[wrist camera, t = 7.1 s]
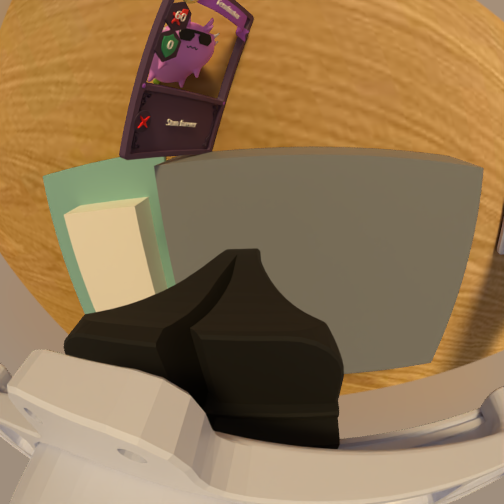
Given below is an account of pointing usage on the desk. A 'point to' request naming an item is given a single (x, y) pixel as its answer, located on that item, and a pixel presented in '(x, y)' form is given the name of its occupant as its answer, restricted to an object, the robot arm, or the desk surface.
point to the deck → (335, 236)
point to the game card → (177, 70)
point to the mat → (103, 190)
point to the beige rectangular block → (116, 251)
